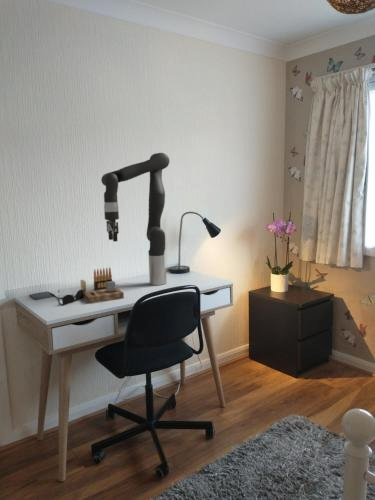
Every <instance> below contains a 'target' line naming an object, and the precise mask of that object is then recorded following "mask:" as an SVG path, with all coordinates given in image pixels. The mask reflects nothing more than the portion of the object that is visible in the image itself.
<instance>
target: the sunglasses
mask: <svg viewBox="0 0 375 500" xmlns="http://www.w3.org/2000/svg"><path fill="white" fill-rule="evenodd" d="M58 292H60V289H58ZM83 292H84V291H83V290H81V289H79V290H78V291H76V294H74V295H75V296H74V295H73V294H69V293H68V294H66V295H63V297H59V296H56V295H54V294H53V293H52V292H49V295H51V296H52V297H54V298H55V299H58V300H61V301H62V303H61V302H60V301H58V302H59V304H60V306H61V307H62V306H63V307H64V306H66V305H70V304H74V303H75V302H77V301H80V300H82V299H84V295H83Z"/></svg>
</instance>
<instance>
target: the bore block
mask: <svg viewBox="0 0 375 500" xmlns="http://www.w3.org/2000/svg"><path fill="white" fill-rule="evenodd" d="M115 290H116V292H113V293H106V289H102V290H96V291H95V290H89V291H86V292H83V295H84V298H83V299H84V300H85V301H86V302H87V304H95V303H101V302H109V301H114V300H122V299H125V297H124V296H125V293H124V292H123V291H122V290H120V289H119V288H118V287H115Z"/></svg>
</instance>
